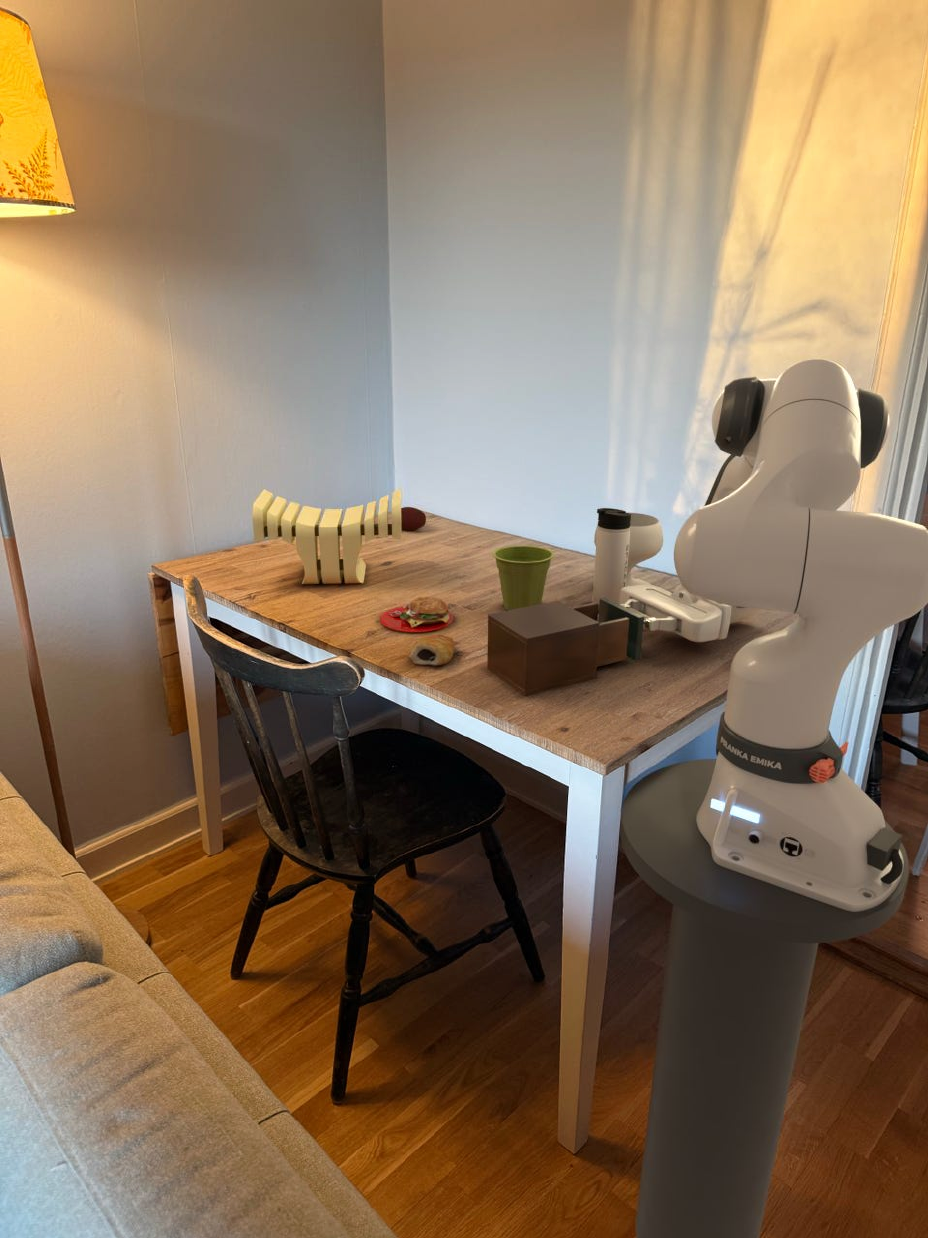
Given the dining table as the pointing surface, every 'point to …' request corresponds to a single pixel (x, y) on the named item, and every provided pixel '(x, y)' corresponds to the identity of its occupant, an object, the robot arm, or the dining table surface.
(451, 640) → the pastry
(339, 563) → the slatted curved stool
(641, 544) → the chalice
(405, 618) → the hamburger
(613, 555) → the travel mug
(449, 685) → the dining table surface
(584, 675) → the cabinet
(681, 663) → the dining table surface
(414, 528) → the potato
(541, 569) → the plant pot
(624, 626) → the drawer
